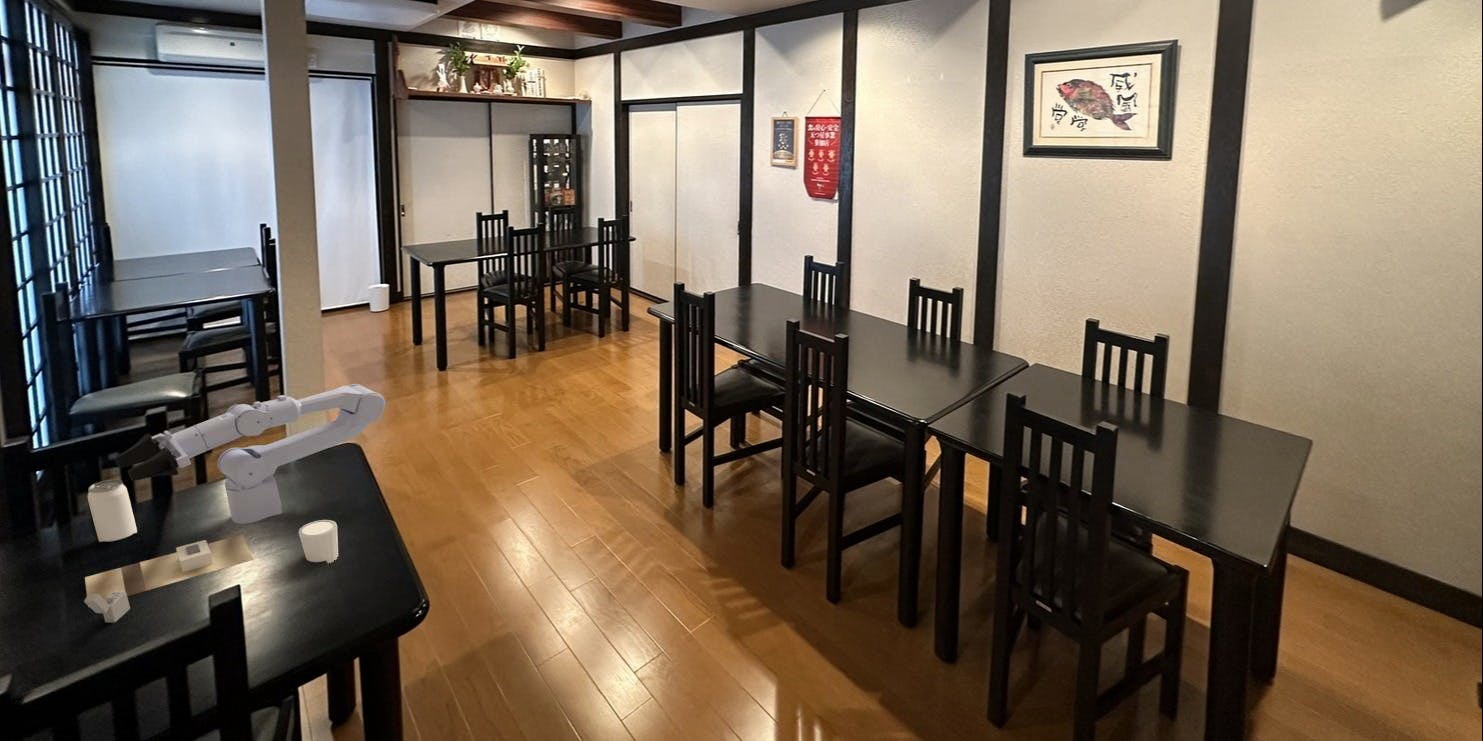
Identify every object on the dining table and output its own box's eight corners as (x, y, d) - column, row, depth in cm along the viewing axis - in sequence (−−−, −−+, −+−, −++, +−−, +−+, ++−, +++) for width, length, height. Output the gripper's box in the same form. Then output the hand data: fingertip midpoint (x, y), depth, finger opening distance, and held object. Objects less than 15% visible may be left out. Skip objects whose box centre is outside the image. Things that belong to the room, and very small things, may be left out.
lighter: (122, 612, 145) (111, 574, 142) (132, 612, 145) (122, 574, 142) (93, 638, 138) (82, 597, 135) (104, 637, 138) (93, 597, 135)
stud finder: (208, 550, 163) (205, 538, 162) (213, 563, 158) (210, 551, 157) (178, 558, 160) (175, 546, 159) (182, 572, 155) (179, 559, 154)
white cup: (303, 571, 158) (298, 539, 156) (303, 554, 164) (298, 523, 162) (342, 562, 161) (337, 532, 159) (340, 546, 167) (336, 516, 165)
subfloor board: (243, 538, 169) (242, 534, 169) (254, 563, 160) (253, 559, 160) (86, 581, 153) (84, 577, 153) (89, 612, 145) (88, 607, 144)
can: (117, 547, 165) (103, 494, 161) (91, 543, 166) (76, 490, 162) (145, 531, 171) (133, 480, 167) (119, 527, 172) (106, 476, 168)
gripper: (179, 411, 167) (103, 440, 158) (206, 432, 159) (127, 464, 150) (191, 440, 171) (117, 470, 162) (219, 462, 162) (142, 495, 153)
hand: (123, 469), depth 156 cm, fingers open, 7 cm apart
